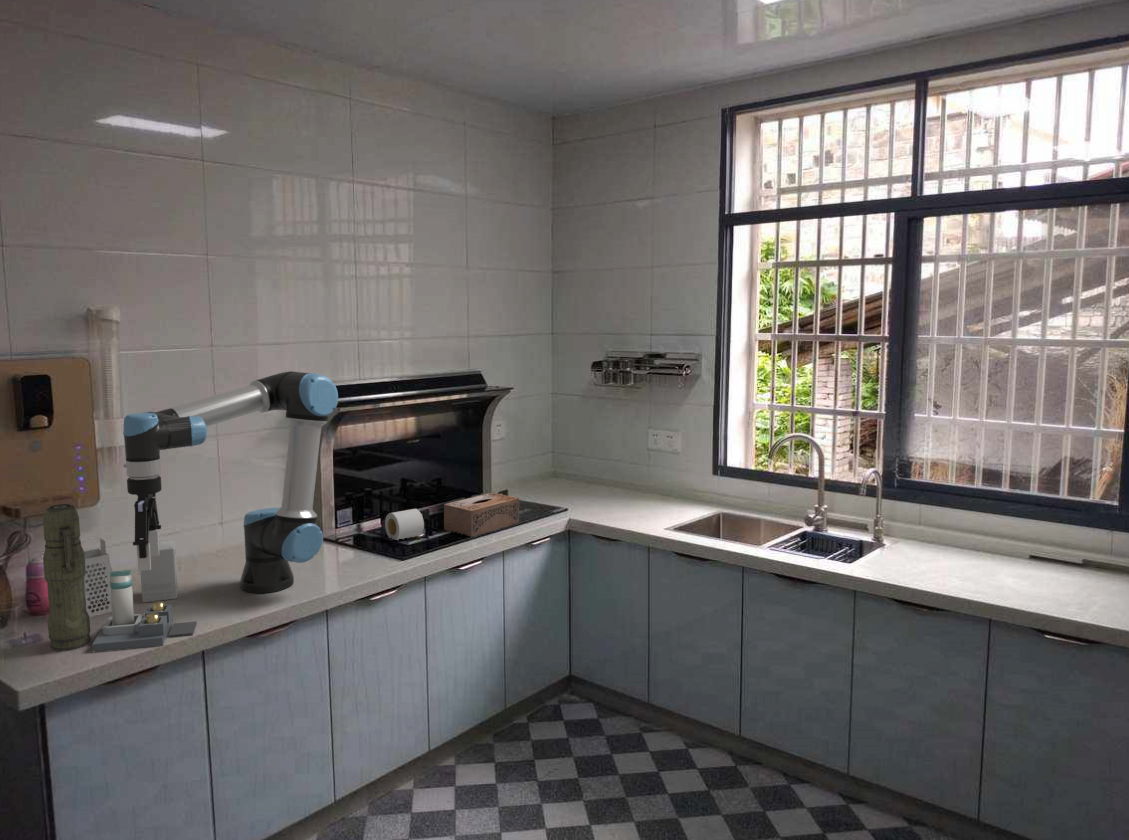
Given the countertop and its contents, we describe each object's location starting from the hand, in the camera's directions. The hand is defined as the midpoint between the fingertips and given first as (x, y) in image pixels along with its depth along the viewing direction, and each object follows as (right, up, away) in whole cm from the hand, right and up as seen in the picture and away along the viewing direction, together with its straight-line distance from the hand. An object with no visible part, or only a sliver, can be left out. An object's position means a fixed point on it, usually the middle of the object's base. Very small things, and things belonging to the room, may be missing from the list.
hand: (149, 562), depth 210 cm
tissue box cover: (+72, -5, +112) cm, 133 cm away
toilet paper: (+46, -7, +95) cm, 105 cm away
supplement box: (-13, -15, +34) cm, 39 cm away
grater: (-27, -17, +23) cm, 39 cm away
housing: (-6, -20, +5) cm, 21 cm away
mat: (+4, -19, +9) cm, 21 cm away
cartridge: (-9, -17, +5) cm, 20 cm away
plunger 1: (-3, -16, +11) cm, 20 cm away
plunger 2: (0, -17, +3) cm, 18 cm away
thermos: (-19, -20, 0) cm, 28 cm away
